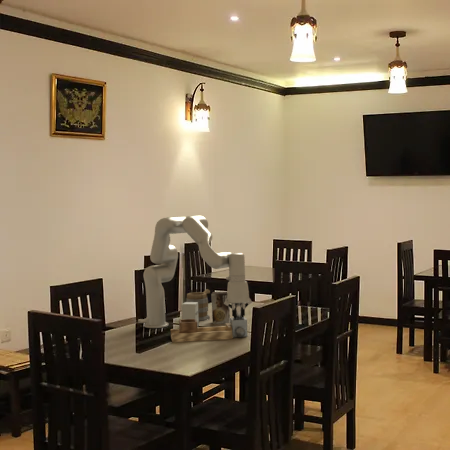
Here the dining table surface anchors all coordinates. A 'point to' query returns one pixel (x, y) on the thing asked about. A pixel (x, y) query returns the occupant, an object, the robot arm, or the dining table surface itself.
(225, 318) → the coffee box
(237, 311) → the pin
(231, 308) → the robot arm
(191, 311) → the supplement box
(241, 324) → the grey hollow block
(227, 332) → the tray
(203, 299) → the tankard
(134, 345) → the dining table surface
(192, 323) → the crate
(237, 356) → the dining table surface
